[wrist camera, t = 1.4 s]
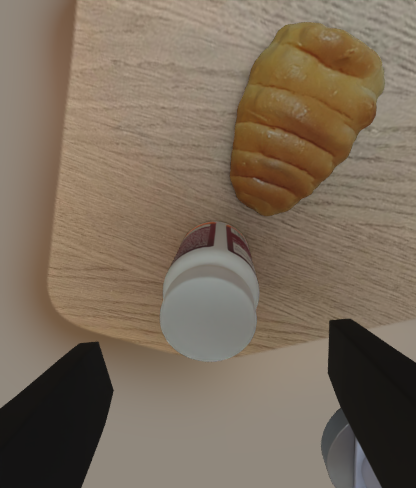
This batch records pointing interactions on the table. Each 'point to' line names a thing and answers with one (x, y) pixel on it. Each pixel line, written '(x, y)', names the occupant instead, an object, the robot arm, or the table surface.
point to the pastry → (301, 114)
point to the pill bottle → (210, 294)
